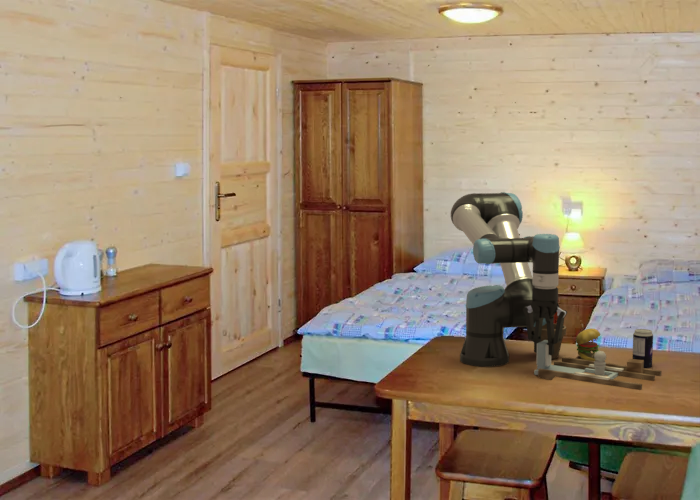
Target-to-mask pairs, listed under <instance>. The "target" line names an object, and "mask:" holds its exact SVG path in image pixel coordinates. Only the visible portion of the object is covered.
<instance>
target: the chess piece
mask: <svg viewBox="0 0 700 500" xmlns="http://www.w3.org/2000/svg"><path fill="white" fill-rule="evenodd" d="M594 358H595V361H594V367H595V374H594V375H600V376H606V375H604V372H605V367H606V365H605V364H606V363H607V362H606V360H607V354H606V352H605V351H603V350H599V351H597V352H595V355H594Z"/></svg>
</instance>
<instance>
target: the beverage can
mask: <svg viewBox="0 0 700 500" xmlns="http://www.w3.org/2000/svg"><path fill="white" fill-rule="evenodd" d="M632 336H633V337H632V358H631V359H637V360H644V368H646V369H652V368H653V352H654V349H653V348H654V347H653V346H654V334H653V331H652V330H651V329H646V328H636V329H634V332H633V335H632Z"/></svg>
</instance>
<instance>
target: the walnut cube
mask: <svg viewBox="0 0 700 500" xmlns="http://www.w3.org/2000/svg"><path fill="white" fill-rule="evenodd" d="M626 366H627V371H629V372H636V373H643V370H644V360H637V359H632V358H629V359H628V360H627V361H626Z"/></svg>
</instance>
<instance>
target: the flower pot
mask: <svg viewBox="0 0 700 500" xmlns="http://www.w3.org/2000/svg"><path fill="white" fill-rule="evenodd" d="M555 330H556V323H554V334H555ZM534 331H535V327H534ZM566 334H567V326H566V325H564V324H563V330H562V336H561V341H560V342H558V343H555V344H554V354H553V355H551V360H554V359H557V358H559V354H560V352H561V351H560V350H561V347H562V343H563V339H564V336H566ZM541 339H542V340H541V341H544V340H548V337H547V324H545V325H543V326H542V332H541ZM541 341H540V342H541ZM535 354H536V355H537V353H535Z"/></svg>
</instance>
